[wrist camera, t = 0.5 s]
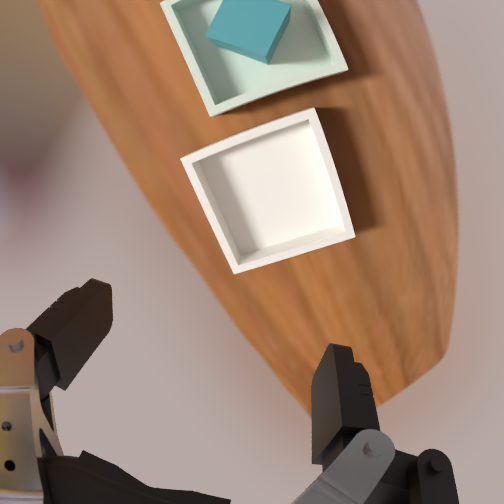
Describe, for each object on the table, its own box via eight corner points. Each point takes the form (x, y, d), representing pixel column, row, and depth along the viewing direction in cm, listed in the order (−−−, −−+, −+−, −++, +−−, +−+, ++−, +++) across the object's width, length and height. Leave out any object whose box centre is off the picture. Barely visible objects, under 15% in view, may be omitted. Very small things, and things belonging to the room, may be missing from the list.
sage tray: (170, 10, 23) (160, 3, 20) (290, -34, 20) (291, -46, 17) (216, 115, 28) (210, 116, 25) (341, 72, 25) (348, 69, 22)
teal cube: (217, 46, 24) (204, 36, 19) (239, 3, 22) (231, -15, 17) (267, 64, 24) (265, 56, 20) (289, 20, 22) (291, 5, 18)
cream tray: (189, 153, 29) (180, 158, 27) (311, 107, 26) (314, 107, 24) (237, 260, 34) (234, 274, 32) (349, 225, 31) (355, 236, 29)
